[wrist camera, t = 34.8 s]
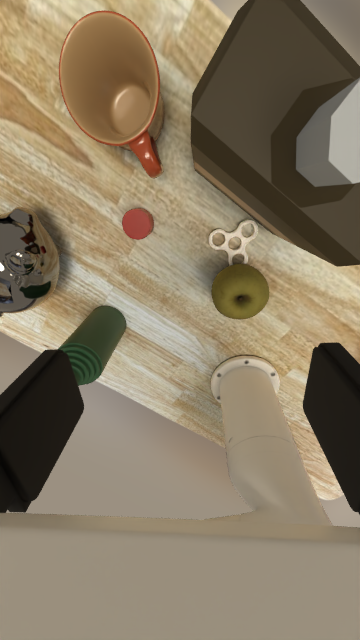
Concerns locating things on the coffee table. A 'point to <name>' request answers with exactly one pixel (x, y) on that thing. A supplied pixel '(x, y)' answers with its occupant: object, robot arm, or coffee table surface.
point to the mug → (114, 85)
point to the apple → (240, 291)
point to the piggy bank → (26, 262)
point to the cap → (137, 223)
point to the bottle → (284, 128)
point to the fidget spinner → (230, 235)
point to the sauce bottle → (94, 343)
